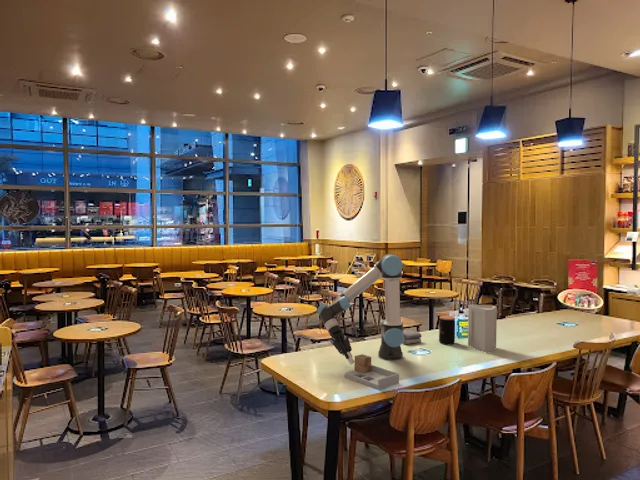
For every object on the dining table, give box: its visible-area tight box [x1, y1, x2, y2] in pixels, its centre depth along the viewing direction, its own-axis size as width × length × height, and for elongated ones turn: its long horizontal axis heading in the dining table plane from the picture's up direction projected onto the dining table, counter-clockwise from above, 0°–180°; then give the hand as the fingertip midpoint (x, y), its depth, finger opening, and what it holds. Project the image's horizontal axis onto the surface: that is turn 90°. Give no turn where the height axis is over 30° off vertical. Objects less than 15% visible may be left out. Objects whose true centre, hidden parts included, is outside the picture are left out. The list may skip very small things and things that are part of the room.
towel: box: [401, 329, 423, 345], centre depth 328 cm, size 15×18×8 cm
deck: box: [344, 364, 400, 390], centre depth 246 cm, size 15×26×5 cm, turn 39°
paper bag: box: [467, 304, 498, 353], centre depth 309 cm, size 19×15×28 cm
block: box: [354, 353, 372, 374], centre depth 255 cm, size 6×7×8 cm
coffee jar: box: [438, 315, 456, 345], centre depth 323 cm, size 11×11×18 cm
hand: (352, 363), depth 260 cm, fingers closed
